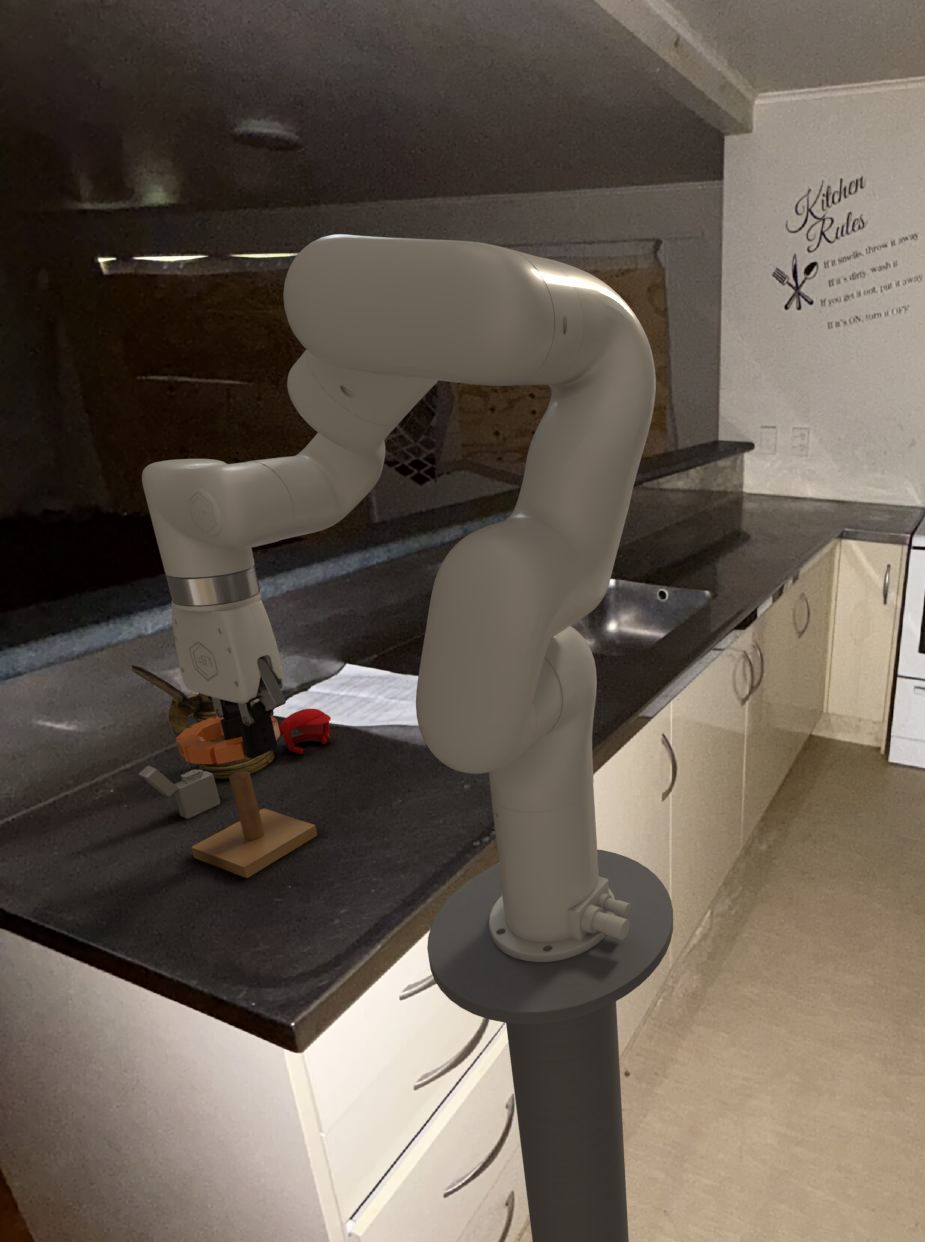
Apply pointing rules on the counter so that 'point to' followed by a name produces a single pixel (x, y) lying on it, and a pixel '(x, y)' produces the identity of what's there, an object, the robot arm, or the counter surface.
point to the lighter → (186, 790)
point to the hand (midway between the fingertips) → (253, 749)
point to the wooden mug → (201, 712)
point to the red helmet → (305, 727)
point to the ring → (212, 743)
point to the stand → (252, 834)
